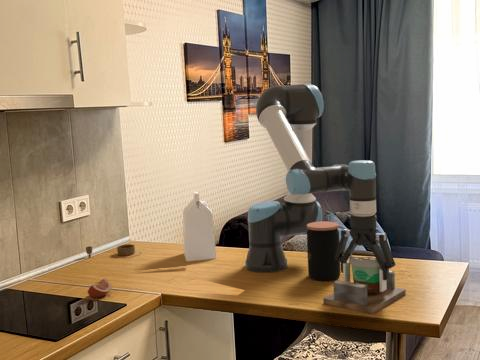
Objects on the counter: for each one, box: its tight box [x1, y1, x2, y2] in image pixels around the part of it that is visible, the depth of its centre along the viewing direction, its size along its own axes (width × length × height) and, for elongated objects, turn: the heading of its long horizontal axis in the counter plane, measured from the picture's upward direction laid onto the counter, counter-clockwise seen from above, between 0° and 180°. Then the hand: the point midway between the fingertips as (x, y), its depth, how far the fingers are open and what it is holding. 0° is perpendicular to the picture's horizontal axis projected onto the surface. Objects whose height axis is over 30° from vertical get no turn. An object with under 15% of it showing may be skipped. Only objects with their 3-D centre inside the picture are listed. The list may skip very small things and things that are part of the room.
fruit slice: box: [87, 278, 112, 298], centre depth 187 cm, size 8×7×5 cm
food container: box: [348, 253, 387, 293], centre depth 172 cm, size 12×6×10 cm, turn 58°
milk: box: [182, 191, 217, 262], centre depth 228 cm, size 12×12×26 cm
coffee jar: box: [306, 220, 341, 282], centre depth 195 cm, size 11×11×18 cm
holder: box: [322, 269, 407, 315], centre depth 172 cm, size 16×20×7 cm
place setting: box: [85, 244, 142, 259], centre depth 238 cm, size 18×20×6 cm
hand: (364, 287), depth 173 cm, fingers closed on food container, 11 cm apart
